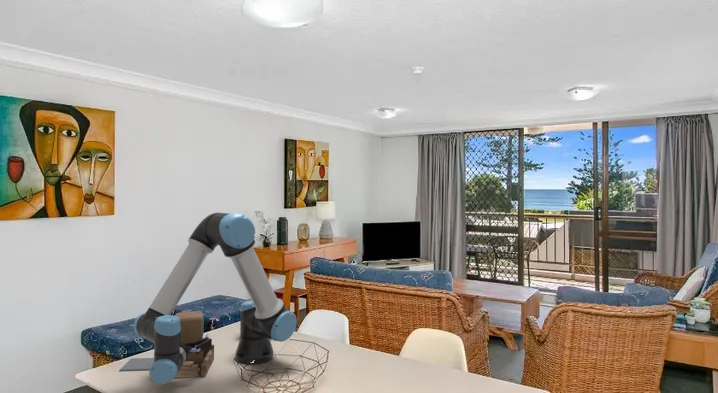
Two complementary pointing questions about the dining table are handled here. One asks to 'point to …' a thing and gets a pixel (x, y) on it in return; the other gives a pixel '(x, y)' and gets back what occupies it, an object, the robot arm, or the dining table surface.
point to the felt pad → (138, 364)
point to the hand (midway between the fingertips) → (189, 336)
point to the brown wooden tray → (193, 370)
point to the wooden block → (192, 332)
